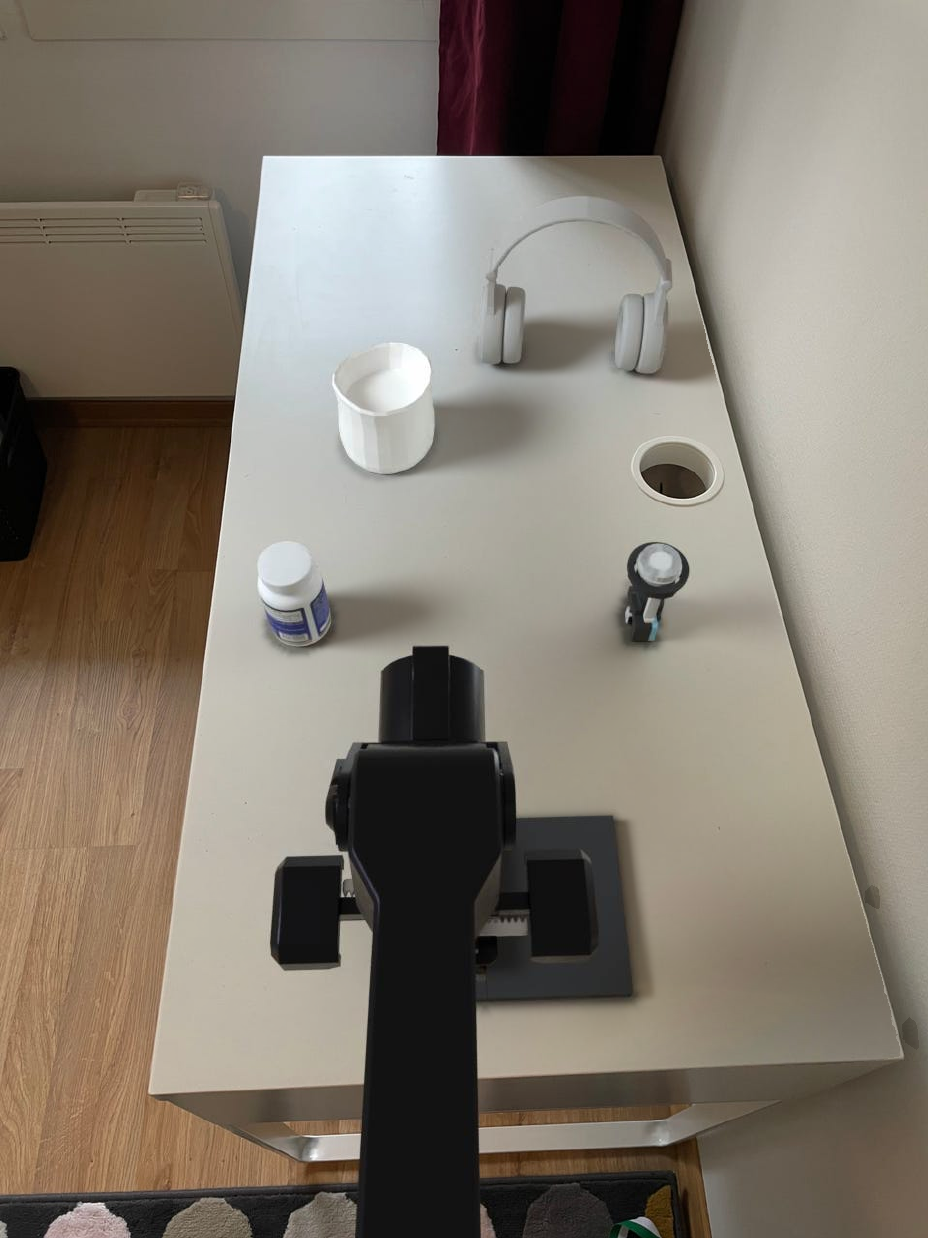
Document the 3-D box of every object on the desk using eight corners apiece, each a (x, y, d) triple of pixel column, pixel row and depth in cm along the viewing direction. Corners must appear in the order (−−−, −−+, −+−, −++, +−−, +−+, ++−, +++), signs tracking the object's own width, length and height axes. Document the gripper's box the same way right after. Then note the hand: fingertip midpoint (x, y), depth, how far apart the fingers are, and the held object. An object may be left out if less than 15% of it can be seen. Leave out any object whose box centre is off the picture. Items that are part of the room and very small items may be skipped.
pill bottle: (309, 586, 92) (293, 524, 83) (344, 626, 90) (332, 566, 81) (258, 618, 90) (238, 558, 81) (293, 660, 88) (275, 602, 79)
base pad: (630, 997, 73) (633, 994, 72) (394, 1004, 73) (393, 1002, 71) (610, 820, 80) (612, 815, 79) (395, 826, 80) (395, 821, 79)
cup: (326, 460, 100) (314, 393, 92) (371, 396, 105) (363, 327, 96) (407, 490, 98) (403, 425, 90) (449, 424, 103) (449, 356, 94)
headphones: (655, 336, 110) (690, 184, 93) (657, 390, 105) (694, 240, 89) (481, 326, 110) (485, 173, 94) (476, 379, 106) (479, 228, 89)
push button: (608, 585, 92) (624, 523, 84) (663, 584, 92) (685, 522, 84) (615, 645, 89) (633, 587, 80) (673, 644, 89) (696, 586, 80)
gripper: (594, 727, 54) (567, 819, 68) (264, 735, 54) (303, 826, 67) (616, 928, 49) (582, 985, 62) (247, 939, 48) (293, 993, 62)
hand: (437, 940), depth 63 cm, fingers closed
